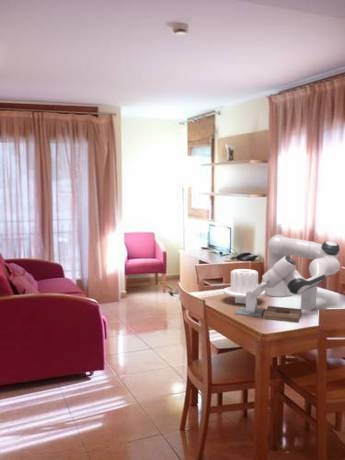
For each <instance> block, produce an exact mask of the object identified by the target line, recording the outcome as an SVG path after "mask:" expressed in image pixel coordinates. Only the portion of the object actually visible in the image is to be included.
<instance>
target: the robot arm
mask: <svg viewBox="0 0 345 460" xmlns="http://www.w3.org/2000/svg"><path fill="white" fill-rule="evenodd" d="M267 247H268V249H269V255H268V269H267V271H266V272H265V273H264V274H263V275H262V276H261V277H262V279H261V283H259V284H258V287H257V288H256V289H255V290H254V291H253V294H252V295H251V296H250V299H253V298H254V297H255V296H259V295H260V294H261V293H262V292H263V291H265V295H267V296H270V297H280V298H281V297H289V296H290V297H291V296H292V294H294V295H302V292H304V291H305V290H307V289H309V288H312V287H314V286H316V285H317V286H318V285H320V284H321V283H323V282H324V281H325V279H326V277H331V276H333V275H335V274H337V273H338V272H339V271H340V269H341V263H340V261H339V254H340V250H341V249H340V245H339V244H338V243H337V242H336V241H332V240H327V241H326V240H325V241H324V242H323V243H322V244H321V243H318V242H315V241H312V240H311V241H310V240H305V239H301V238H292V237H286V236H285V235H284V234H280V233H278V234H274V235H273V236H271V237H270V238H269V240H268V242H267ZM290 256H293V257H294V256H295V257H299V258H304V259H309V260H312V261H310V263H309V266H308V272H309V275H310V277H309V278H307V279H306V278H305V277H303V276H302V275H301V274H300V272H299V271H298V270H297V268H296V266H297V263H296V261H295V260H294V259H293V258H291V257H290Z"/></svg>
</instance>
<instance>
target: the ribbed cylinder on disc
mask: <svg viewBox="0 0 345 460" xmlns="http://www.w3.org/2000/svg"><path fill="white" fill-rule="evenodd" d="M258 286H259V272H258V271H257V270H255V269H249V268H237V269H232V270H231V271H230V286H227V287H224V289H223V294H225V295H226V296H230V297H234V300H235V301H234V302H235V304H245V305H246V292H247V291H254V290H255V289H256V288H257V287H258ZM265 295H266V294H265V291H263V292H262V293H261V294H260V295H259V296H257V298H259V297H263V296H265Z"/></svg>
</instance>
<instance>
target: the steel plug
mask: <svg viewBox="0 0 345 460" xmlns="http://www.w3.org/2000/svg"><path fill="white" fill-rule="evenodd" d="M252 294H253V291H247V292H246V304H245V307H246V312H247V313H255V312H256V311H257V309H258V297H257V296H255V297H254V298H253V299H250V296H251V295H252Z"/></svg>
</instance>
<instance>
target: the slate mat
mask: <svg viewBox="0 0 345 460" xmlns="http://www.w3.org/2000/svg"><path fill="white" fill-rule="evenodd" d="M265 311H266V309H264V308H257V311H256V312H255V313H247V312H246V306H240V307H239V308H238V309H237V310H236V311H235V312H234V315H240V316H248V317H257V318H258V317H259V318H260V317H262V315H263V314H264V312H265Z"/></svg>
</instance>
